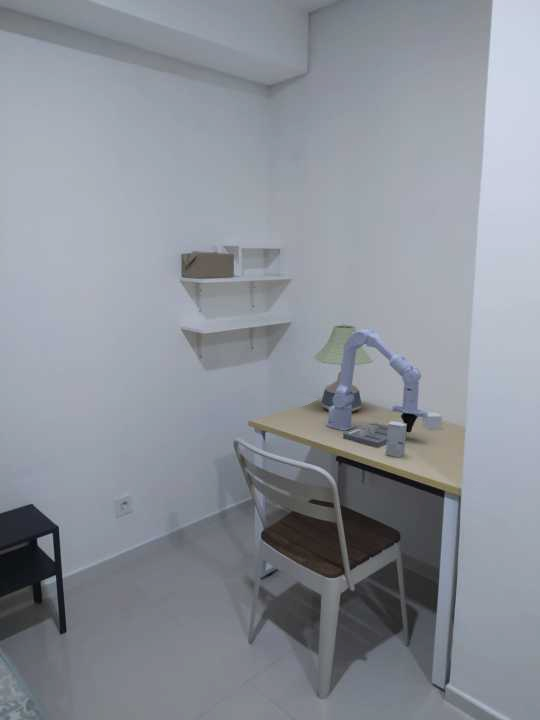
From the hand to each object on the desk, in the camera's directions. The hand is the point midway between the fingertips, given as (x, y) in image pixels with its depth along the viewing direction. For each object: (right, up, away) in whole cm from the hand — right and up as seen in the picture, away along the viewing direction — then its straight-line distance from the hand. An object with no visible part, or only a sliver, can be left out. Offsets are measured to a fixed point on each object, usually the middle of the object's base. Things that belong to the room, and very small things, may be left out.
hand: (408, 431), depth 222 cm
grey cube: (+14, -1, +17) cm, 22 cm away
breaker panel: (-13, -2, +3) cm, 13 cm away
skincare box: (-9, -6, -18) cm, 21 cm away
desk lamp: (-21, +5, +44) cm, 49 cm away
